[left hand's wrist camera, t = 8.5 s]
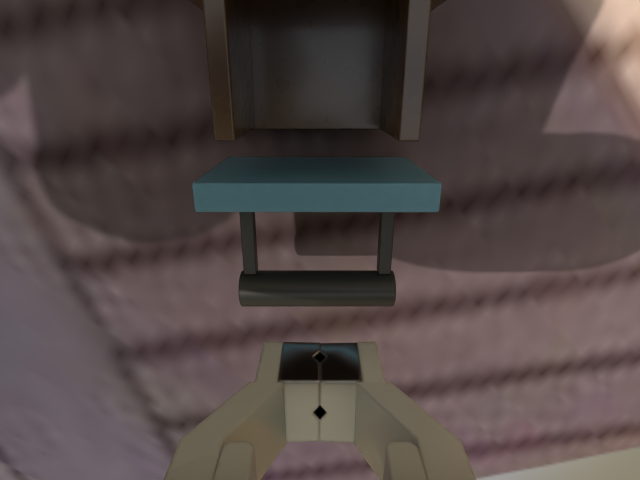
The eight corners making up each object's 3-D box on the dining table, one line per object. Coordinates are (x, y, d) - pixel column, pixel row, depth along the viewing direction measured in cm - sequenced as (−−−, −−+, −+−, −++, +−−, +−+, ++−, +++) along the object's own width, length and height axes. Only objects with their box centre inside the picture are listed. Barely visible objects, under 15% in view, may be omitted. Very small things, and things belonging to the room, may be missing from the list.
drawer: (398, 266, 24) (426, 327, 18) (236, 266, 24) (207, 328, 18) (446, -361, 15) (539, -689, 9) (187, -363, 15) (92, -692, 9)
